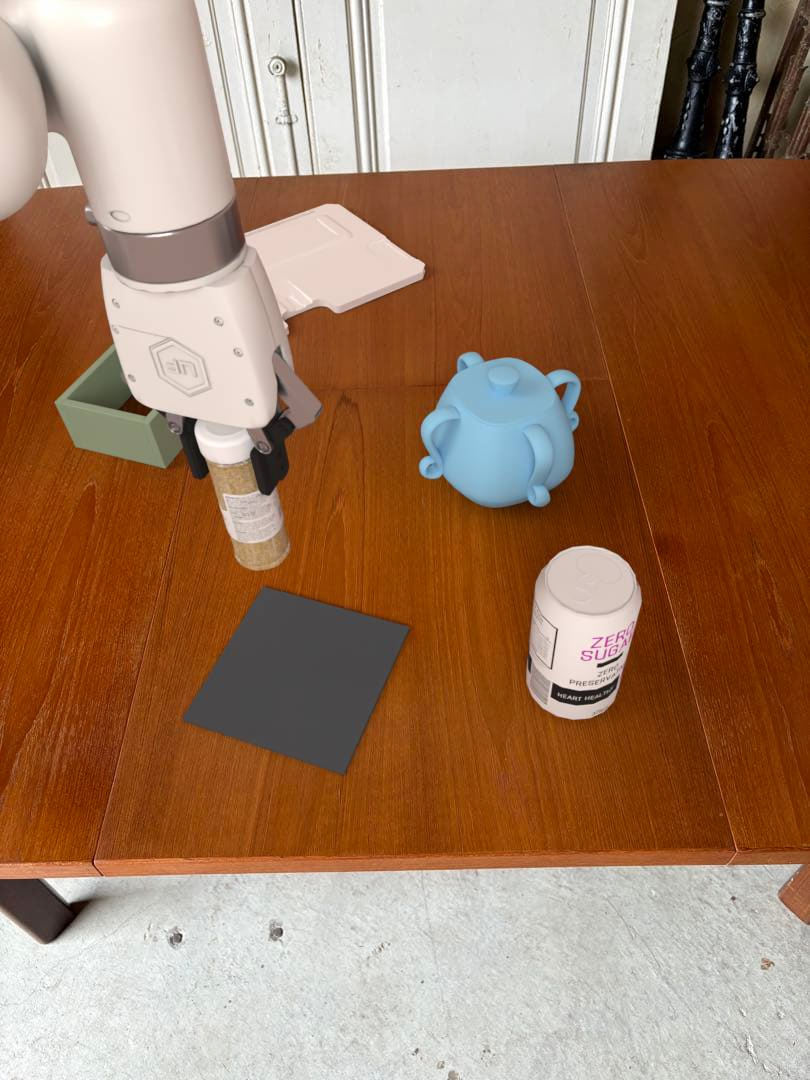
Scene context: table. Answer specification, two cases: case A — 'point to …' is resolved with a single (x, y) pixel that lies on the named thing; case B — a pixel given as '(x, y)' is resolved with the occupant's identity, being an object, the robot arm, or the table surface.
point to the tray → (330, 261)
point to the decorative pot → (502, 431)
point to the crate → (114, 417)
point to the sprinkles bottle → (243, 497)
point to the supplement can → (581, 631)
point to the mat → (299, 679)
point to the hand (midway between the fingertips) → (240, 472)
